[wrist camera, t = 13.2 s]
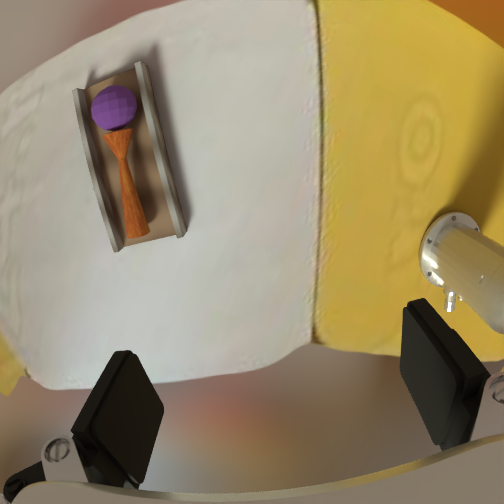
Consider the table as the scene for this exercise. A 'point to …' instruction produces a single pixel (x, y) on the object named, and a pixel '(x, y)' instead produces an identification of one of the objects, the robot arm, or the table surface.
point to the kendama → (121, 149)
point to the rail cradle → (131, 162)
